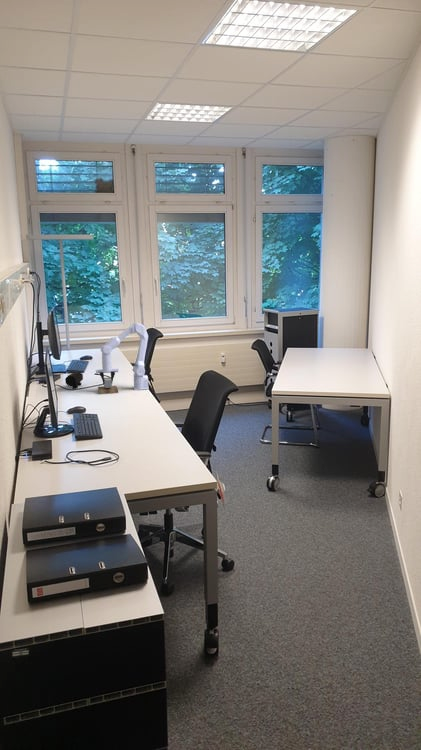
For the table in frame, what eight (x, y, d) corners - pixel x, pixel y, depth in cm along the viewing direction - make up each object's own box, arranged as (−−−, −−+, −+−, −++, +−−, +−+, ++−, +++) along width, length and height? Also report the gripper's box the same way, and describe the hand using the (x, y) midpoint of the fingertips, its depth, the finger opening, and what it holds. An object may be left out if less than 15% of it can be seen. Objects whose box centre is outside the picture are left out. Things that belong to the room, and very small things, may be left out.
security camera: (84, 384, 379) (84, 370, 376) (75, 391, 361) (74, 376, 358) (75, 384, 379) (74, 370, 377) (65, 390, 361) (64, 376, 359)
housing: (112, 387, 354) (111, 379, 353) (105, 387, 353) (104, 380, 352) (110, 384, 362) (110, 377, 361) (103, 384, 361) (103, 377, 360)
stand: (116, 388, 366) (116, 385, 365) (118, 392, 354) (118, 389, 354) (98, 390, 363) (98, 386, 362) (99, 394, 351) (99, 390, 351)
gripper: (117, 361, 360) (118, 381, 363) (94, 362, 356) (96, 382, 359) (118, 363, 354) (119, 383, 356) (95, 364, 350) (96, 385, 353)
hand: (107, 383), depth 357 cm, fingers closed on housing, 4 cm apart
